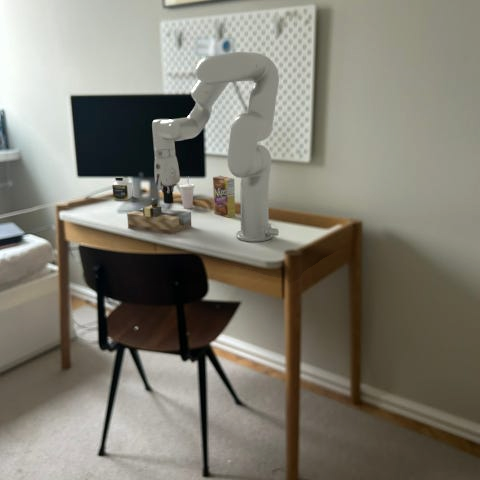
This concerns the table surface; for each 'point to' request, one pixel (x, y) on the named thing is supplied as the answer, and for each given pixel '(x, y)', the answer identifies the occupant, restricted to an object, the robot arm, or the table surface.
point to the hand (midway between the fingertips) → (168, 202)
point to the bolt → (151, 207)
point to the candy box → (224, 196)
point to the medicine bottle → (122, 189)
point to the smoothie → (187, 194)
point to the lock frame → (160, 220)
